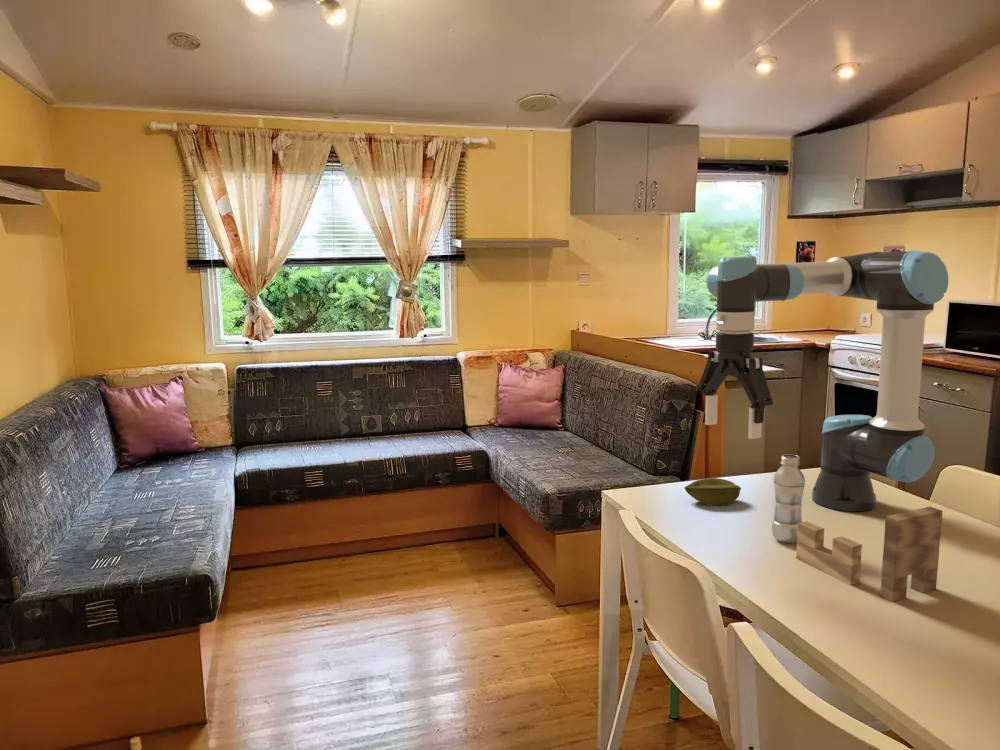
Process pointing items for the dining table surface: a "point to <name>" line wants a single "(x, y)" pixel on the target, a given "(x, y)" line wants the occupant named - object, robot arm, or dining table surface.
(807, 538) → the oak slot board
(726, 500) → the fruit
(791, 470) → the plastic bottle
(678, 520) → the dining table surface
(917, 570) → the wooden flat notched block
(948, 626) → the dining table surface
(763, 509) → the dining table surface
